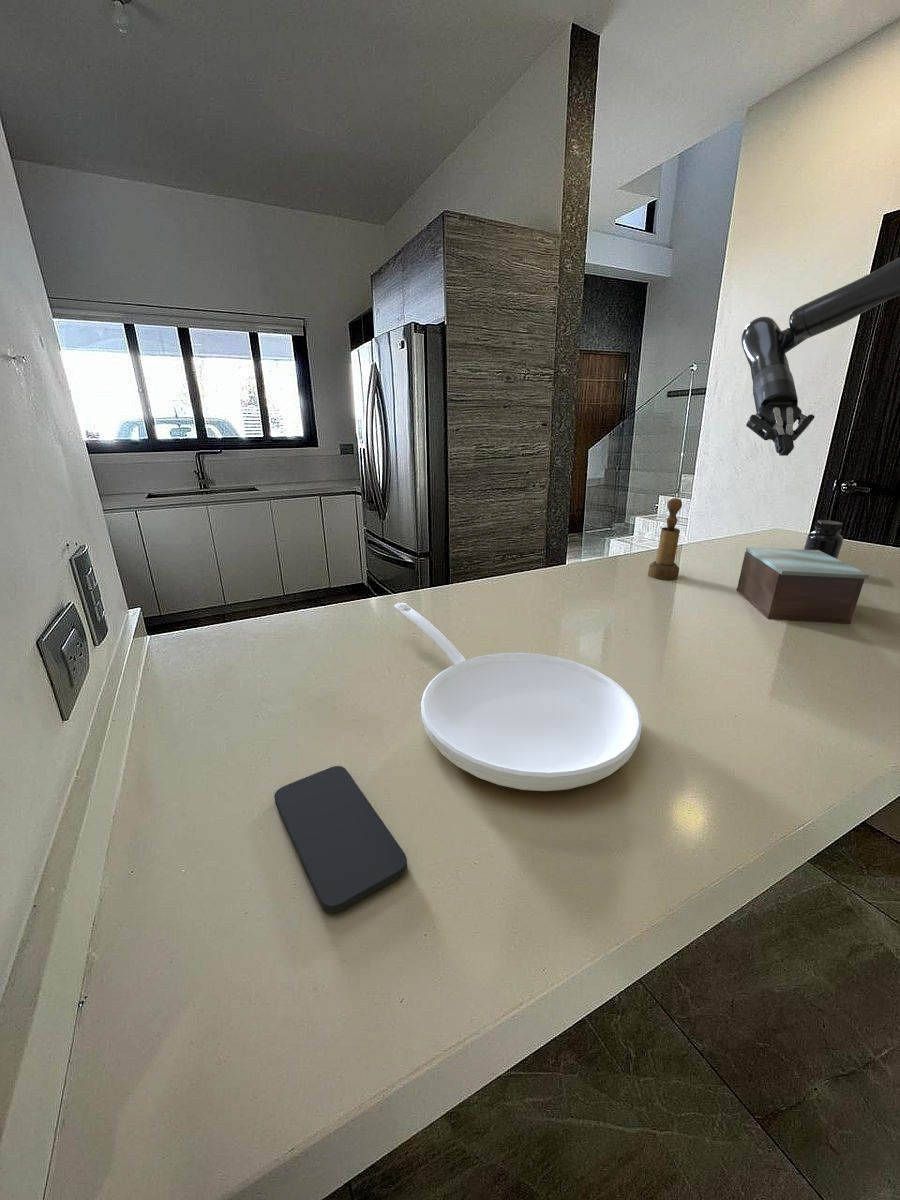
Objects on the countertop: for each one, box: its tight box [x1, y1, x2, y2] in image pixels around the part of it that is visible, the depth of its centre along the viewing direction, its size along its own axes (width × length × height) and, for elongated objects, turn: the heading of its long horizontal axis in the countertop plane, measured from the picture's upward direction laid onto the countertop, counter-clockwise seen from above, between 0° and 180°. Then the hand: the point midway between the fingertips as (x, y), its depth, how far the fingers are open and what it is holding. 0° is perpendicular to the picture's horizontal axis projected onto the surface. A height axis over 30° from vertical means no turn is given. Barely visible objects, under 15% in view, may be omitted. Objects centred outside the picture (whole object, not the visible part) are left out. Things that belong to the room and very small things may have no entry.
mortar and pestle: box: [647, 497, 683, 581], centre depth 109 cm, size 7×6×18 cm
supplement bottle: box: [803, 519, 844, 559], centre depth 113 cm, size 7×7×12 cm
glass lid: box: [745, 547, 870, 580], centre depth 91 cm, size 16×14×1 cm
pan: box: [392, 602, 643, 792], centre depth 63 cm, size 25×44×6 cm, turn 34°
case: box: [736, 550, 865, 624], centre depth 93 cm, size 16×14×9 cm
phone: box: [273, 765, 408, 913], centre depth 43 cm, size 7×1×15 cm
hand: (785, 452), depth 99 cm, fingers closed
